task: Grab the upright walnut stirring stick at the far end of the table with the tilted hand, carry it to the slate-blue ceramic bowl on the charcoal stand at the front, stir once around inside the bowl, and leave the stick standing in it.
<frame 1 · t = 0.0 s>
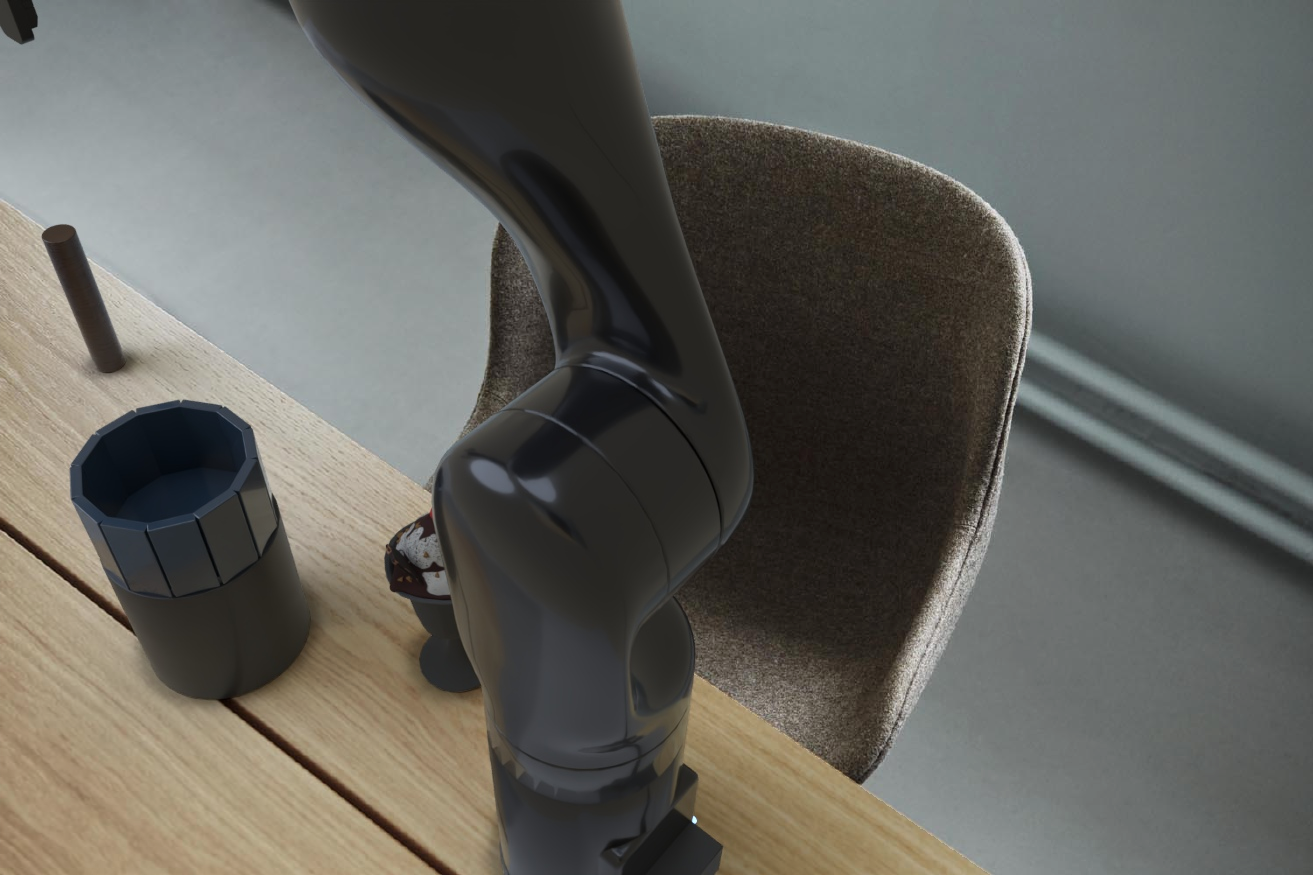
sundae: (460, 658, 71), on the table
stick: (110, 363, 87), on the table
stand: (230, 632, 71), on the table
bowl: (190, 528, 64), resting on stand
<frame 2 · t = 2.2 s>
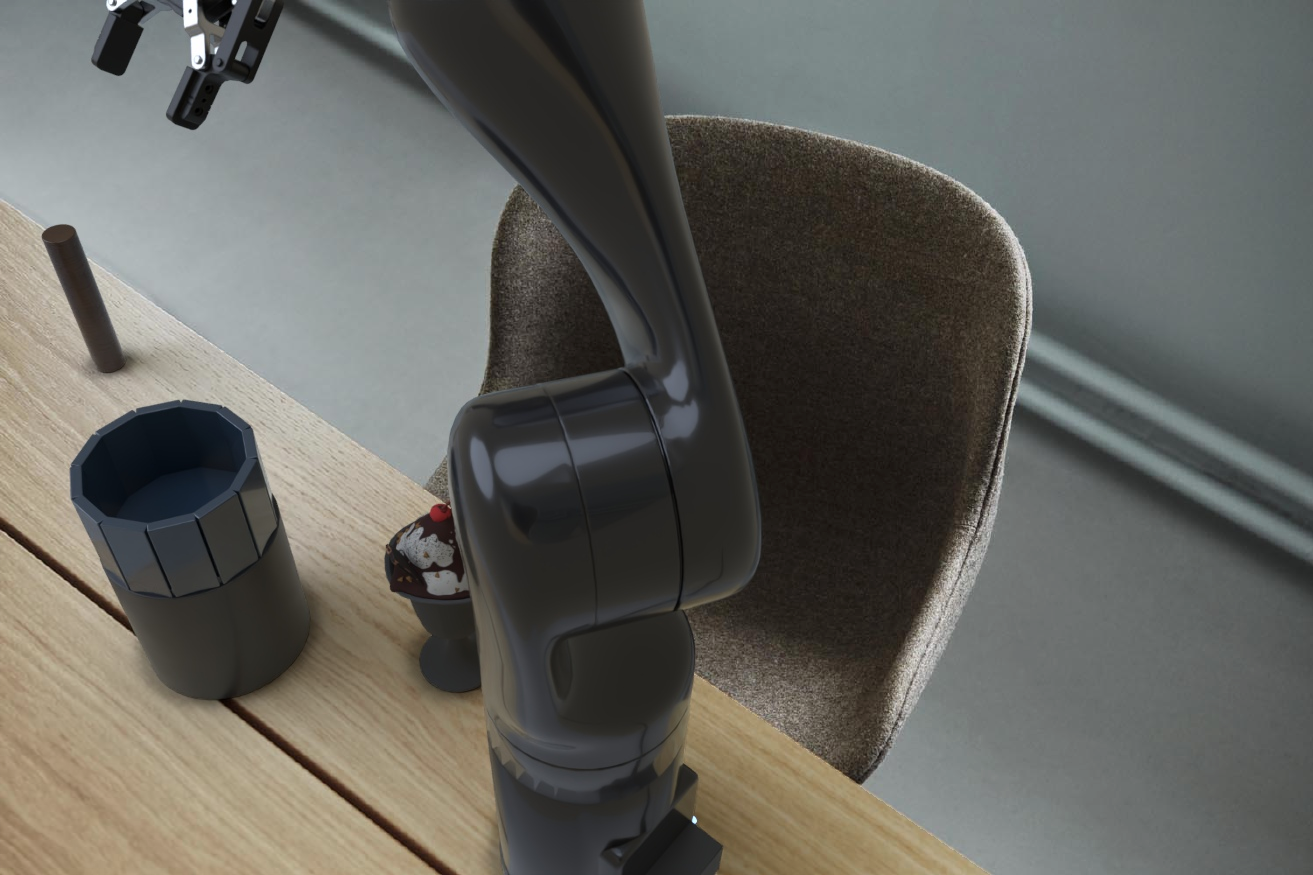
hand: (142, 97, 76), 20 cm above the table, tool tilted 40°, fingers open, 8 cm apart
nothing on the table moved.
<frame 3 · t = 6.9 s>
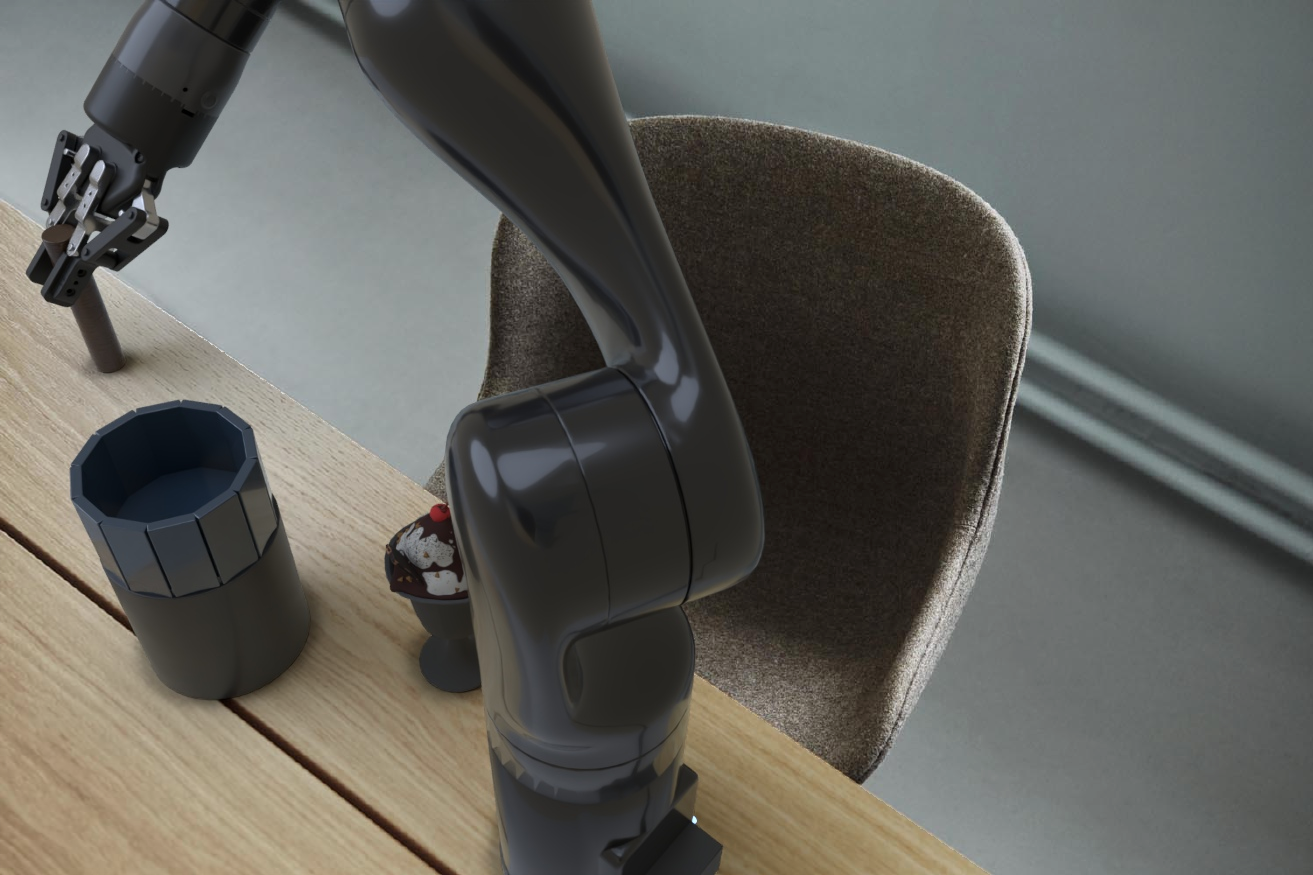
hand: (48, 291, 81), 8 cm above the table, tool tilted 45°, fingers closed on stick, 2 cm apart
stick: (110, 363, 87), on the table, touching gripper
everything else where it was.
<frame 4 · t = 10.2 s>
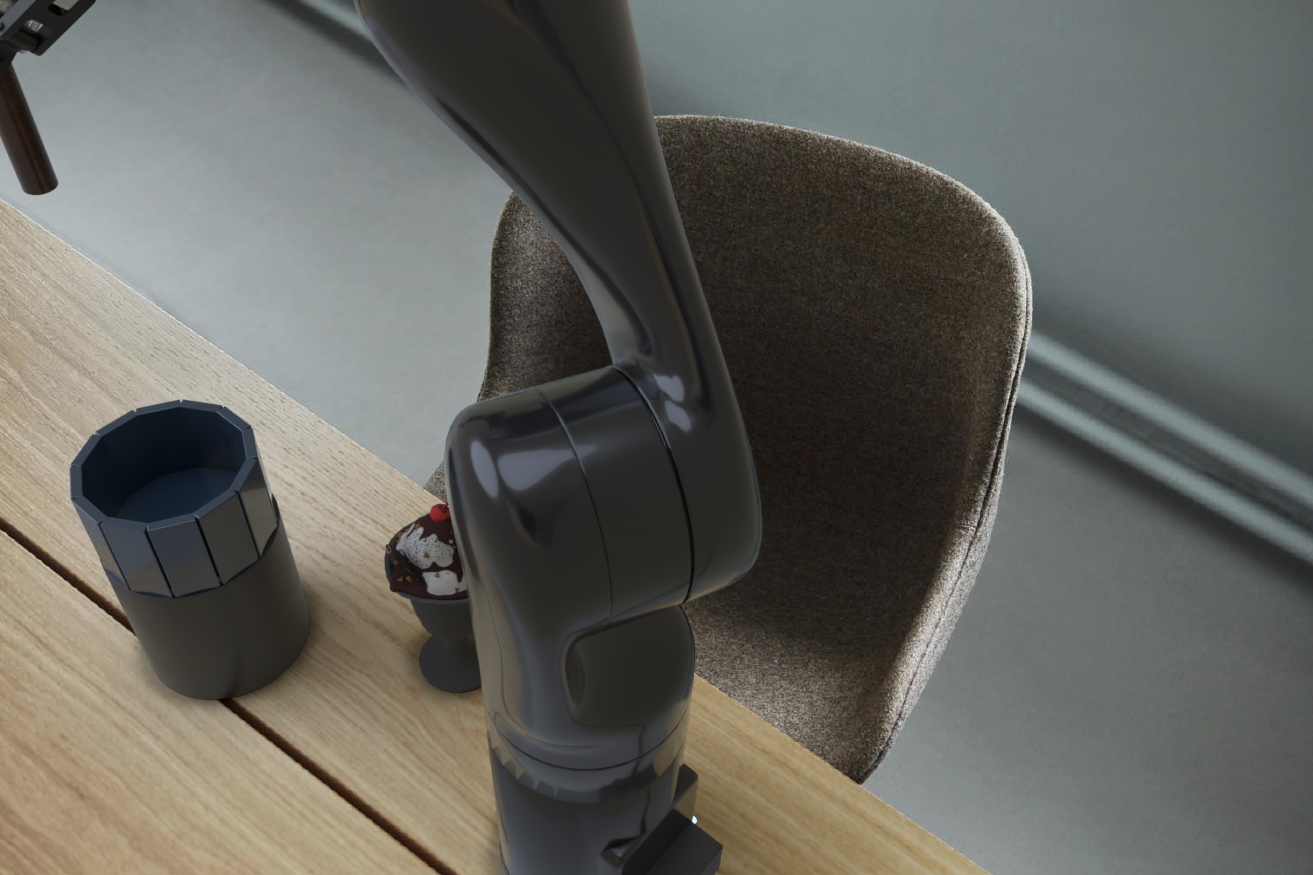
stick: (40, 186, 75), point 16 cm above the table, touching gripper
everything else where it was.
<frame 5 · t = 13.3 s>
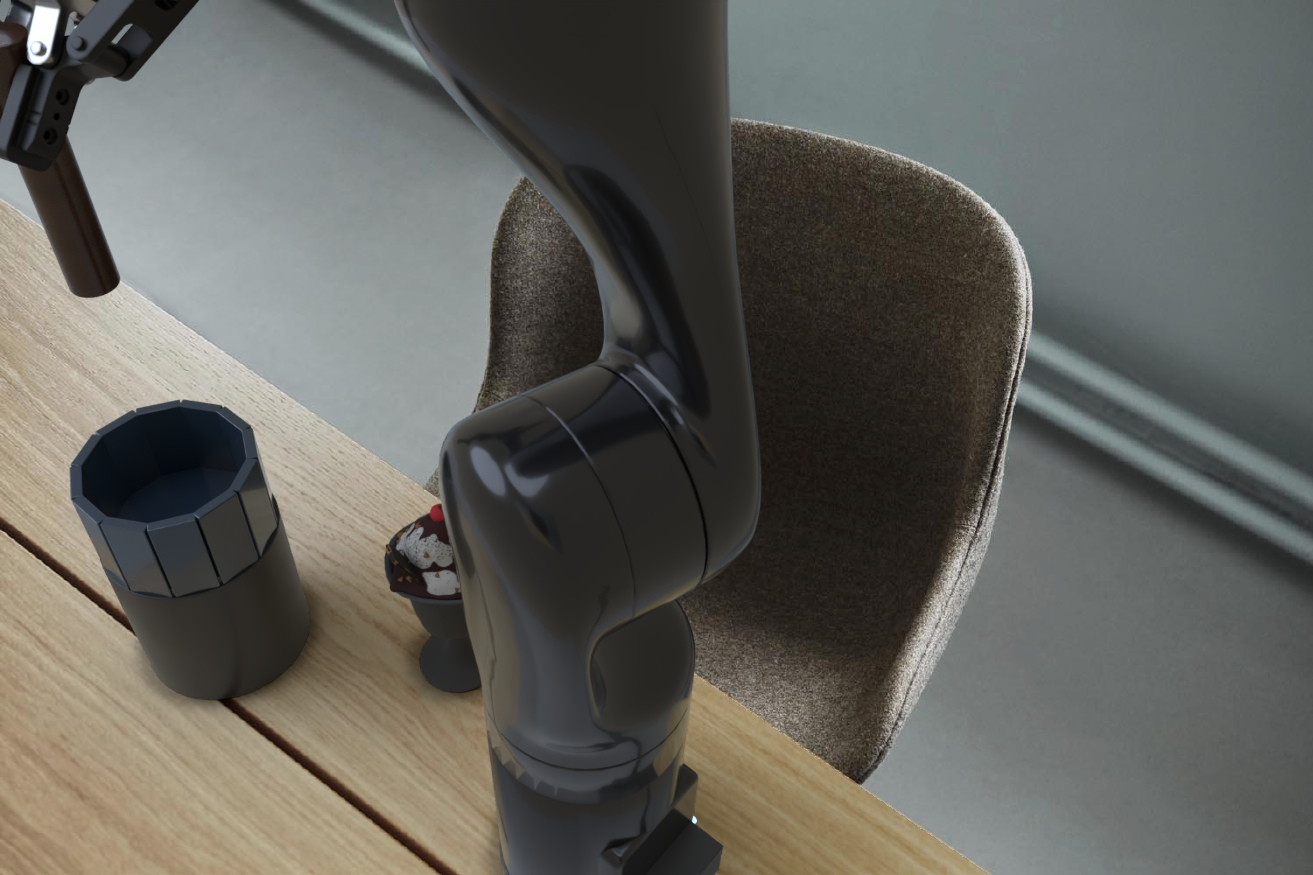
stick: (95, 283, 52), point 27 cm above the table, touching gripper
everything else where it was.
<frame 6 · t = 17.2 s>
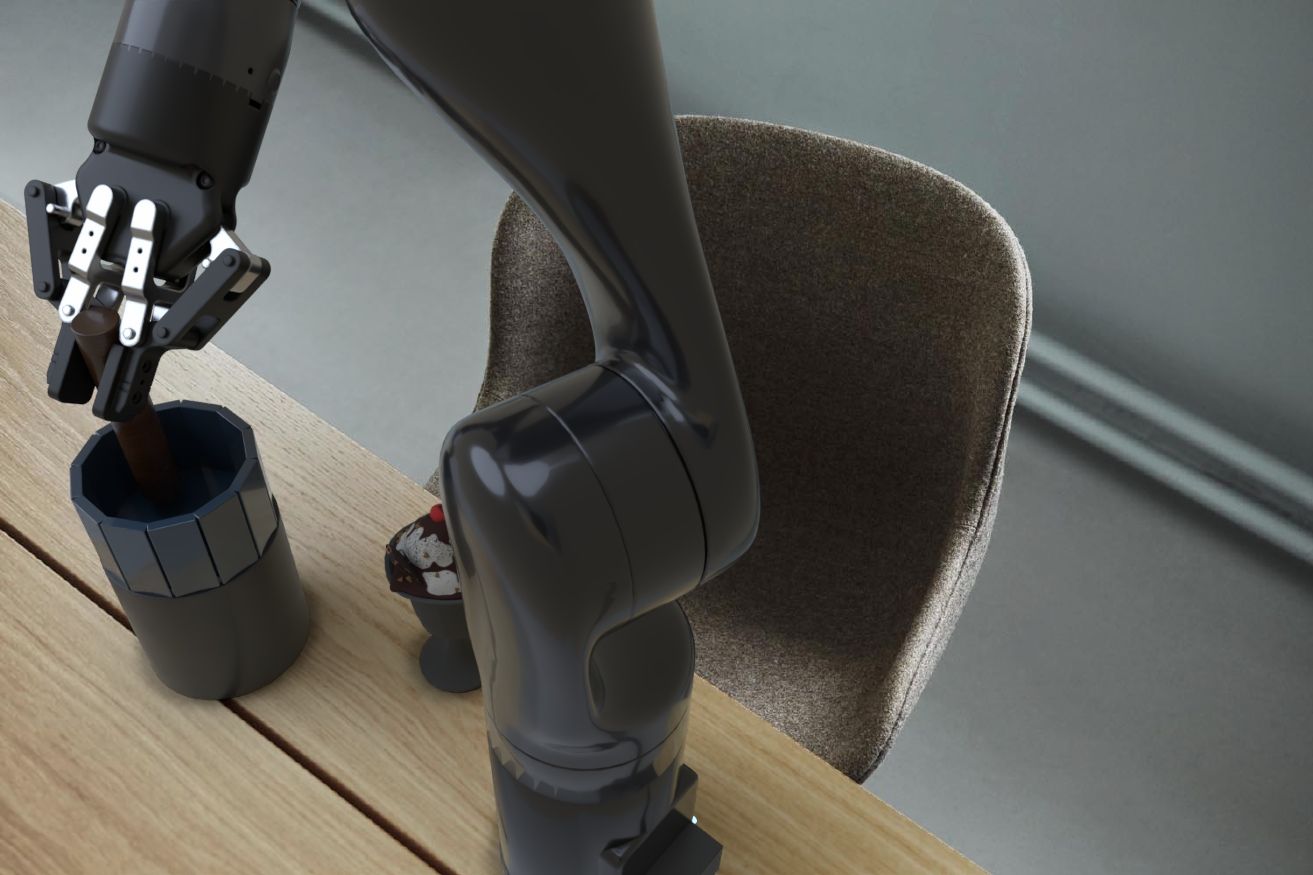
hand: (90, 409, 56), 20 cm above the table, tool tilted 45°, fingers closed on stick, 2 cm apart
stick: (162, 487, 63), point 12 cm above the table, touching gripper
everything else where it was.
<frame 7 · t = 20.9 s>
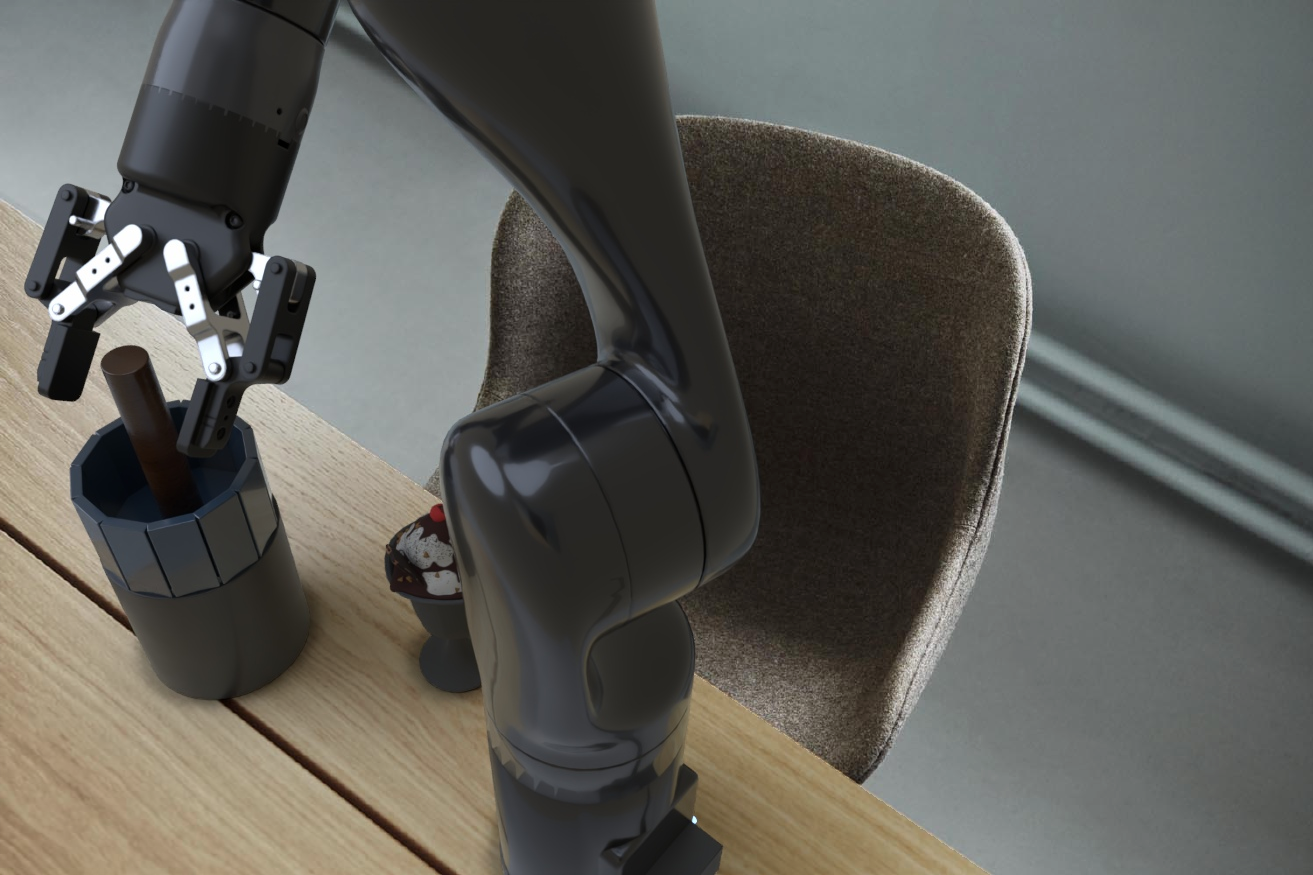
hand: (125, 426, 56), 19 cm above the table, tool tilted 45°, fingers open, 8 cm apart
stick: (187, 521, 63), point 11 cm above the table, touching bowl
everything else where it was.
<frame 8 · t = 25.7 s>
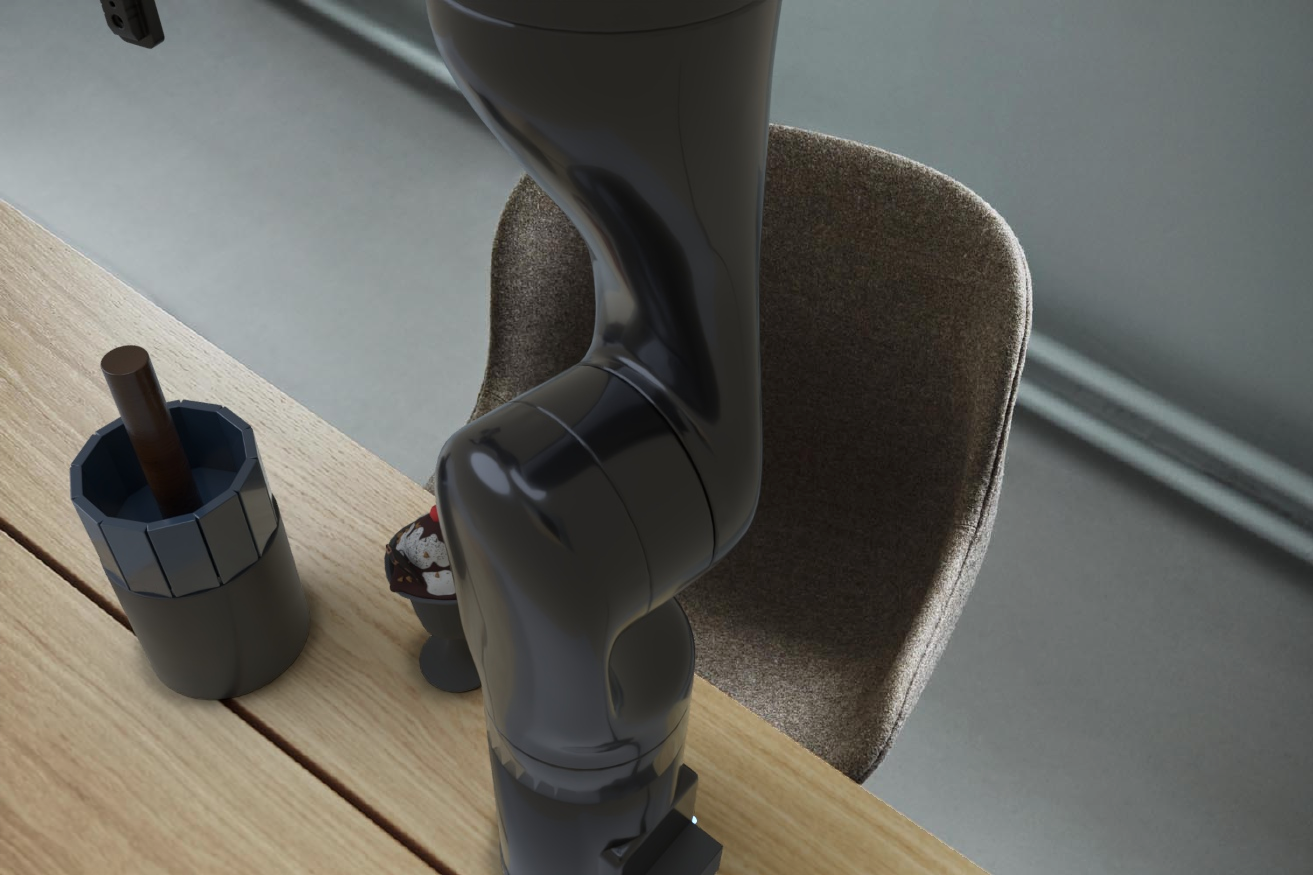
hand: (204, 6, 56), 34 cm above the table, tool pointing down, fingers open, 8 cm apart
nothing on the table moved.
at the end: stick 0.1 cm off-centre on the bowl, point 0.6 cm above the bowl's base; stick moved 30.3 cm from its start; the gripper is holding nothing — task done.
